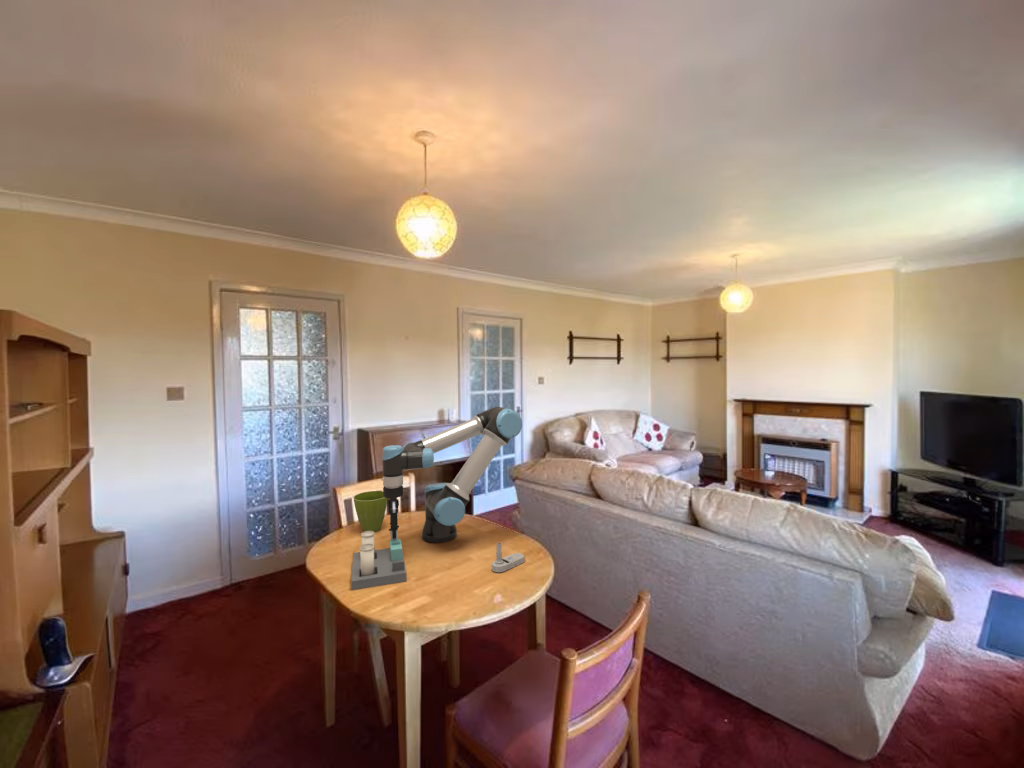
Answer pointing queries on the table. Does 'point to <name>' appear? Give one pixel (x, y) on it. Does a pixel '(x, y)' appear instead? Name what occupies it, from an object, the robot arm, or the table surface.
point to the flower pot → (370, 509)
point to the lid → (396, 549)
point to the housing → (378, 571)
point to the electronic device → (506, 560)
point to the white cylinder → (368, 538)
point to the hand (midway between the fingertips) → (394, 545)
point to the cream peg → (367, 559)
